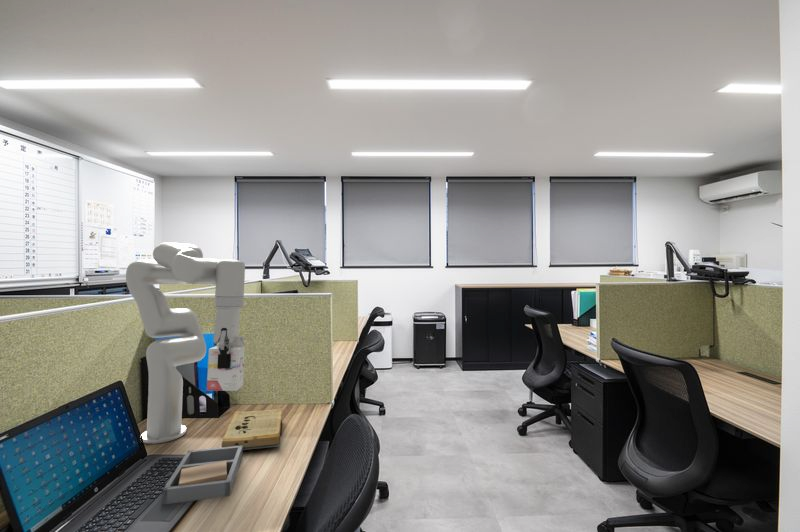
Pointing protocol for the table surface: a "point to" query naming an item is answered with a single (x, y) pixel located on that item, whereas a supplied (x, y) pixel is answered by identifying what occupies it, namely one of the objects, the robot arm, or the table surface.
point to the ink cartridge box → (226, 377)
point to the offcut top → (204, 473)
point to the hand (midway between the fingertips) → (226, 364)
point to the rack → (203, 490)
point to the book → (254, 429)
